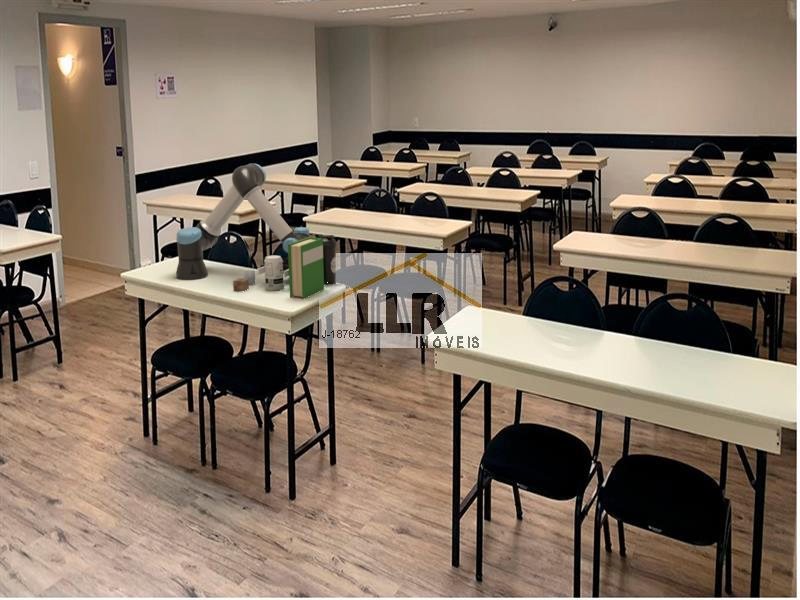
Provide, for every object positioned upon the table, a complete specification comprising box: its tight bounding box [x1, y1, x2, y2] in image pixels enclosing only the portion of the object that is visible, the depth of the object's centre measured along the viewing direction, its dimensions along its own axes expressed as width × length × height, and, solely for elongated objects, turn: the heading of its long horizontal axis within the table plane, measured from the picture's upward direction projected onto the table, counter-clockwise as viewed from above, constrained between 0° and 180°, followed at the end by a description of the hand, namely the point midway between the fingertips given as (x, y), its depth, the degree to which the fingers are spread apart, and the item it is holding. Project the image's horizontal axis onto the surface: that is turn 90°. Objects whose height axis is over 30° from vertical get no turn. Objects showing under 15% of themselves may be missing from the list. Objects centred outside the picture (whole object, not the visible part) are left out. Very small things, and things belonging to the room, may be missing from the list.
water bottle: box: [316, 234, 338, 286], centre depth 352 cm, size 10×10×23 cm
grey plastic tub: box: [243, 270, 257, 286], centre depth 352 cm, size 5×5×6 cm
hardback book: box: [287, 236, 325, 299], centre depth 333 cm, size 18×7×24 cm, turn 156°
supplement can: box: [264, 254, 285, 291], centre depth 343 cm, size 8×8×15 cm
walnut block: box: [232, 277, 250, 292], centre depth 341 cm, size 5×5×5 cm
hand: (271, 273), depth 340 cm, fingers open, 13 cm apart
